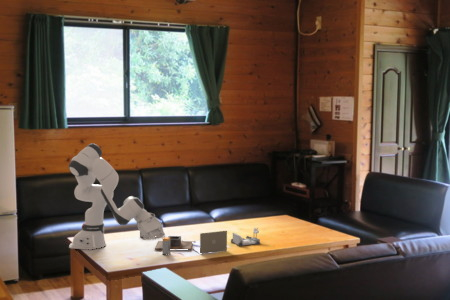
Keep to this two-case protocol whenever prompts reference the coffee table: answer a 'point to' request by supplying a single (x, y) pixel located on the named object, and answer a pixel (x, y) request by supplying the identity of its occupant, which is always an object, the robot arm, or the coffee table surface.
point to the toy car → (242, 241)
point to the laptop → (213, 242)
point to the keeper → (175, 243)
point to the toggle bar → (166, 245)
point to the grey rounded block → (153, 233)
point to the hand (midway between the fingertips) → (158, 236)
